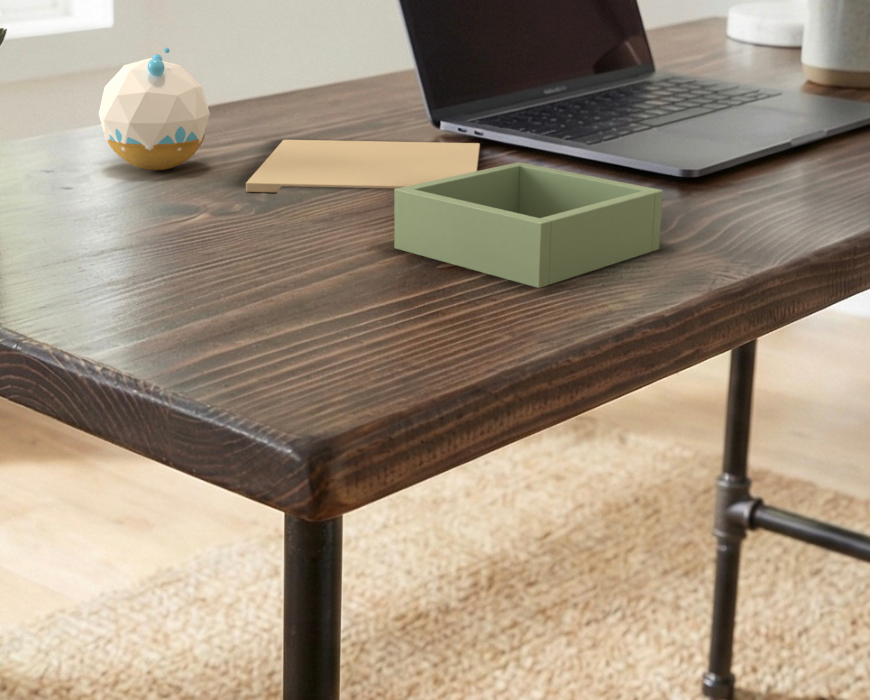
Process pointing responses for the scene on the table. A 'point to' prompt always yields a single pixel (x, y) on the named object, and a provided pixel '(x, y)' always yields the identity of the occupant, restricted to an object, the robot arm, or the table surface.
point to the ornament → (154, 114)
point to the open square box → (527, 222)
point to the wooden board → (361, 164)
